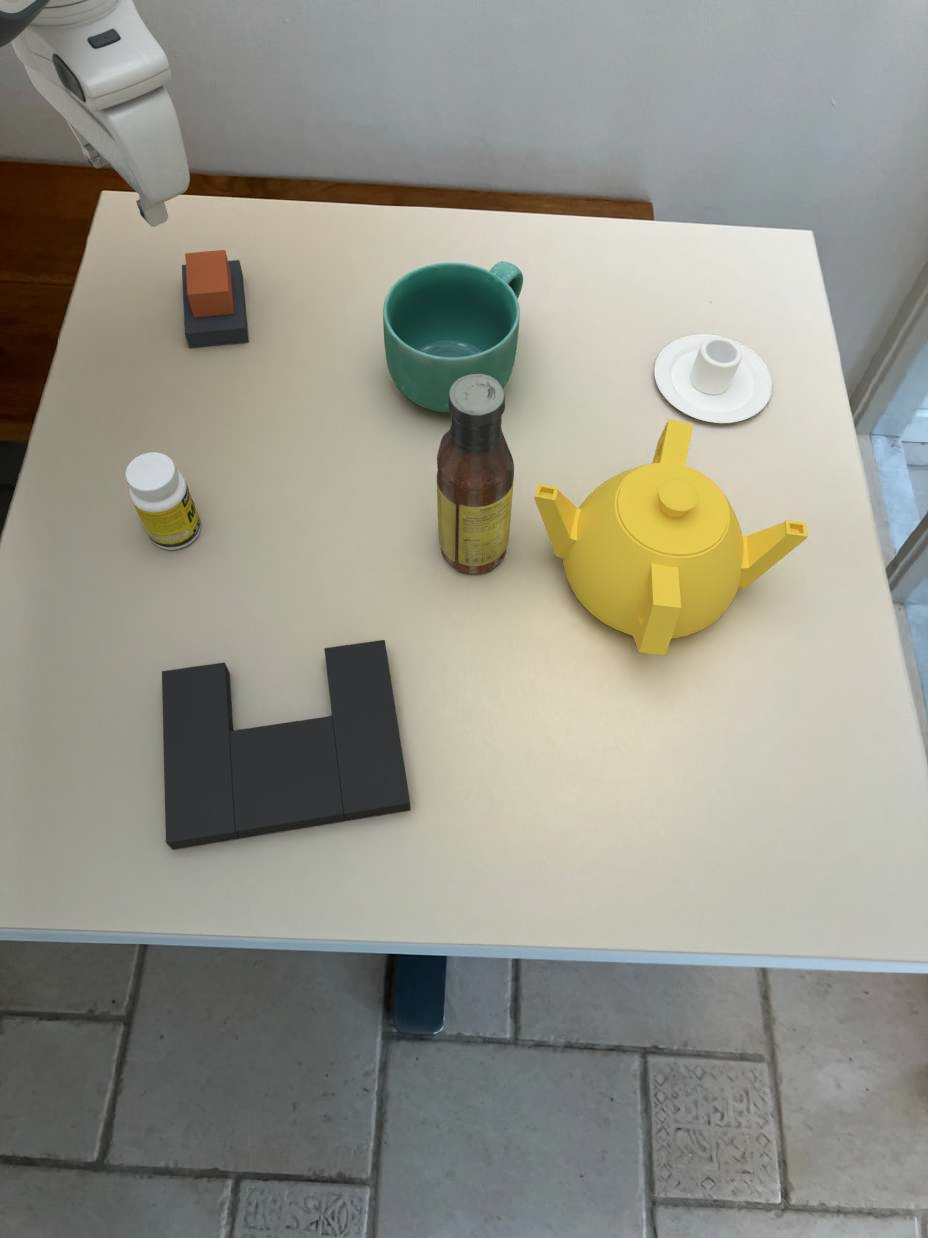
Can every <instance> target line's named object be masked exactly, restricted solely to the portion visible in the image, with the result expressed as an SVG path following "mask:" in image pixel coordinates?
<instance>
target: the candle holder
mask: <svg viewBox="0 0 928 1238" xmlns="http://www.w3.org/2000/svg"><path fill="white" fill-rule="evenodd" d="M653 372H654V374H653V375H654V380H655V383H656V386H657V388H658V390H659V391H660V393H661V394H662V396H663V398H665V400H666V401H667V402H668V403H669V404H671V406H673V407H674V408H675V409H677V410H679V411H680V412H681V413H683V414H685V415H687V416H688V417H692V418H694V419H697V420H700V421H703V422H709V423H714V424H715V423H716V424H731V423H732V424H733V423H739V422H741V421H745V420H747V419H750V418H752V417H754V416H756V415H757V414H758V413H760V412H761V411H762V410H763V409H764V408H765V407H766V406H767V404H768V402H769V401H770V398H771V396H772V391H773V380H772V375H771V372H770V369H769V366H768V365H767V364H766V362H764V360H763V359H762V357H760V356H759V354H758V353H757V352H756V351H755V350H753V349H751V348H750V347H748V346H747V345H745V344H743V343H741V342H739V341H737V340H734V339H732V338H730V337H726V336H723V335H718V334H711V333H710V334H709V333H696V334H690V335H686V336H682V337H679V338H677V339H675V340H673V341H671V342H670V343H668V344H667V345H666V346H665V347H663V348H662V350H661V351H660V352H659V354H658V355H657V357H656V360H655V362H654V370H653Z"/></svg>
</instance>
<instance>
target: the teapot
mask: <svg viewBox="0 0 928 1238" xmlns="http://www.w3.org/2000/svg"><path fill="white" fill-rule="evenodd" d="M693 427H694V423H690V422H685V421H680V420H676V419H672V418H668V420H667V422H666V424H665V426H664V428H663V429H662V431H661V433H660V434H661V435H660V436H659V438H658V440H657V442H656V443H657V444H656V448H655V450H654V451H655V452H654V455H653V459H652V463H647V464H643V465H639V466H637V467H633V468H630V469H628V470H625V471H622V472H620V473H618V474H616V475H614V476H612V477H610V478H608V479H607V480H606V481H604V482H602V483H601V484H600V485H599V486H597V487H596V488H595V489H594V490H593V491H592V492H590V493H589V495H587V497H586V498H585V499H584V501H583V502H582V503H581V504H580V505H579V507H577V506H576V505H575V504H574V503H573V502H572V501H571V500H570V499H569V498H568V497H567V496H566V495H564V494H563V492H561V490H560V489H559V488H560V487H558V486H553V485H548V484H543V483H537V485H536V489H535V493H534V502H535V504H536V506H537V507H536V508H537V509H538V512H539V515H540V517H541V520H542V522H543V525H544V529H545V530H546V533H547V537H548V539H549V541H550V545H551V547H552V549H553V552H554V555H555V557H558V558H560V559H562V564H563V569H564V573H565V576H566V579H567V581H568V584H569V586H570V588H571V590H572V591H573V593H574V595H575V597H576V598H577V600H578V601H579V602H580V603H581V605H582V606H583V607H584V608H585V609H586V610H587V611H588V612H589V613H590V614H591V615H593V616H594V617H595V618H596V619H597V620H599V621H600V622H602V623H603V624H605V625H606V626H608V627H610V628H612V629H613V630H616V631H618V632H621V633H624V634H625V635H630V636H632V638H633V640H634V643H635V645H636V648H637V650H638V653H640V654H647V655H648V654H649V655H657V656H667V653H668V650H669V646H670V643H671V640H673V639H679V638H684V637H687V636H690V635H693V634H695V633H697V632H700V631H703V630H704V629H706V628H708V627H709V626H711V625H713V624H714V623H715V622H716V621H718V620H719V619H720V618H721V617H722V616H723V614H725V613H726V611H727V610H728V608H729V607H730V605H731V604H732V602H733V600H734V599H735V596H736V595H737V592H738V590H739V589H747V588H748V587H749V586H750V585H752V584H754V582H756V581H757V580H758V579H759V578H761V576H763V575H764V574H765V573H767V572H768V571H769V570H770V569H771V568H772V567H774V566H775V565H776V564H777V563H778V562H780V561H781V560H782V559H783V558H785V557H786V556H787V555H788V554H789V553H791V552H792V551H793V550H794V549H796V548H797V547H798V546H799V545H800V544H802V543H803V542H804V541H805V540H807V538H808V536H809V535H808V525H807V522H803V521H794V520H788V519H785V520H784V521H783V522H780V523H777V524H776V525H773V526H770V527H767V528H765V529H762V530H759V531H756V532H754V533H750V534H748V535H743V534H742V529H741V526H740V523H739V520H738V517H737V515H736V513H735V510H734V508H733V506H732V505H731V503H730V501H729V499H728V497H727V495H725V493H724V491H723V490H722V489H721V488H720V487H719V486H718V485H717V484H716V483H715V482H714V481H713V480H712V479H711V478H710V477H709V476H707V475H706V474H704V473H702V472H701V471H699V470H697V469H694V468H692V467H690V466H687V461H688V456H689V455H688V454H689V449H690V443H691V438H692V433H693Z"/></svg>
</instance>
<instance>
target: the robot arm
mask: <svg viewBox="0 0 928 1238" xmlns="http://www.w3.org/2000/svg"><path fill="white" fill-rule="evenodd" d="M10 43H11V45H12V48H13V50H14V53H15V55H16V57H17V58H18V59H19V61H20V62H21V63H22V64H23V66H24V69H25V71H26V73H27V75H28V78H29V79H30V81H31V83H32V84H33V87H34V88H35V89H36V91H37V92H38V93H39V94H40V95H41V97H43V98H44V99H45V100H46V101H47V102H48V103H49V104H50V105H51V106H52V107H53V108H54V109H55V110H56V111H57V112H58V113H59V114H60V116H62V117H63V118H64V119H65V121H66V123H67V125H68V126H69V127H70V130H71V132H72V134H74V136H75V138H76V140H77V142H78V143H79V145H80V148H81V150H82V153H83V155H84V158H85V159H86V161H88V163H89V164H90V165H91V166H92V167H94V168H95V169H102V168H103V167H104V166H108V165H109V166H110V167H111V168H113V170H114V171H115V172H116V173H117V174H118V175H119V176H120V177H121V178H122V179H123V180H124V181H125V182H126V183H127V185H129V186H130V187H131V189H132V190H134V191H135V192H136V193H137V195H138V197H139V199H137V200H136V201H135V203H136V205H137V208H138V210H139V214H140V216H141V217H142V218H143V219H144V221H145V222H146V224H148V225H149V226H150V227H151V228H155V227H158V226H160V225H162V224H164V223H166V222H167V221H168V219H169V213H168V210H167V208H166V204H165V203H166V202H168V201H170V200H172V199H174V198H177V197H179V196H180V195H183V194H184V193H185V192H187V190H188V188H189V186H190V182H191V174H190V169H189V161H188V157H187V154H186V153H187V152H186V148H185V144H184V140H183V134H182V131H181V127H180V126H181V125H180V122H179V118H178V114H177V111H176V109H175V106H174V103H173V101H172V98H171V96H170V94H169V92H168V90H167V88H166V87H165V85H166V84H168V83H170V82H171V81H172V79H173V76H172V70H171V66H170V63H169V59H168V56H167V54H166V53H165V51H164V49H163V48H162V46H161V45H160V44H159V42H158V41H157V40H156V38H155V36H154V35H153V34H152V32H151V31H150V30H149V28H148V26H147V25H146V23H145V21H144V20H143V19H142V17H141V15H140V14H139V11H138V9H137V7H136V5H135V3H134V1H133V0H0V49H1V48H3V47H5V46H7V45H9V44H10Z"/></svg>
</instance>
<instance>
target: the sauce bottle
mask: <svg viewBox="0 0 928 1238" xmlns="http://www.w3.org/2000/svg"><path fill="white" fill-rule="evenodd" d="M448 405H449V410H450V414H451V419H450V420H451V422H450V429H448V430H447V431H446V432H445V433H444V434H443V436H442V438H441V439H440V444H439V447H438V450H437V455H436V465H437V466H436V467H437V470H436V504H437V529H438V543H439V546H440V551H441V555H442V556H443V558H444V560H445V561H446V562H447V563H448V564H449V565H450V566H451V567H453V568H454V569H455V570H456V571H458V572H461V573H464V574H471V575H472V574H484V573H487V572H490V571H491V570H494V569H495V568H496V567H497V566H498V565H499V564H500V563H501V562H502V560H504V558H505V555H506V553H507V547H508V545H509V542H510V531H511V518H512V506H513V493H514V482H515V481H514V480H515V463H514V458H513V455H512V452H511V451H510V448H509V446H508V442H507V441H506V438H505V434H504V432H503V429H502V422H503V421H502V417H503V414H504V413H505V409H506V393H505V390H504V387H503V388H502V386H501V385H500V383H499V382H498V381H497V380H495V379H494V378H493V377H491V376H488V375H484V374H470V375H467V376H463V377H461V378H459V379H458V380H456V381H455V382H454V383H453V384H452V386H451V388H450V391H449V399H448Z"/></svg>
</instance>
